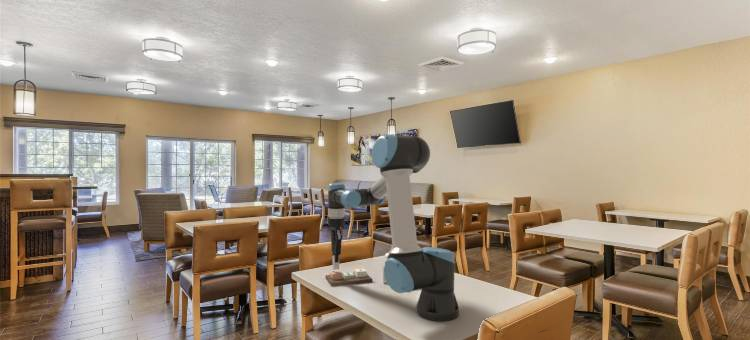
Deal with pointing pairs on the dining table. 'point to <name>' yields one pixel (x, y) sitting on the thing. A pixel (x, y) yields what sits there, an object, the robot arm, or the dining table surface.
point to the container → (383, 267)
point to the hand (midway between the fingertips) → (335, 268)
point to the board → (348, 280)
